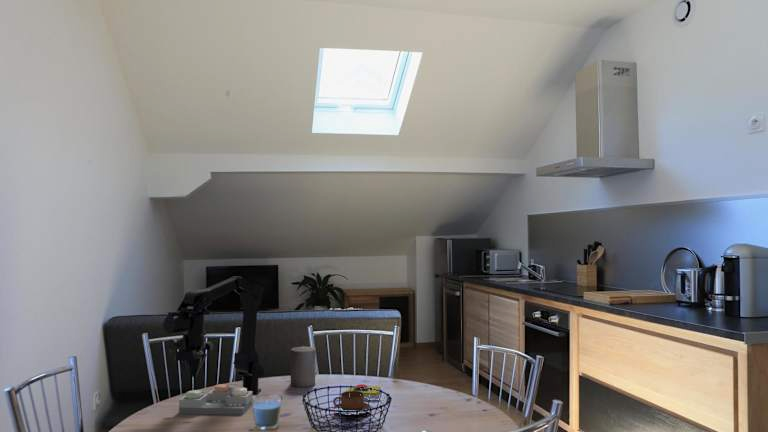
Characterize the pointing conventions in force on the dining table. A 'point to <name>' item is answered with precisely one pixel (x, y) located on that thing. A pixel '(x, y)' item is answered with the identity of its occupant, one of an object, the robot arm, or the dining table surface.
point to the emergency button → (367, 391)
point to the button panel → (216, 403)
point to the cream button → (239, 391)
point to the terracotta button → (221, 388)
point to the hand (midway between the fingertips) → (194, 377)
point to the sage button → (194, 394)
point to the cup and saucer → (352, 401)
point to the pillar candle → (302, 366)
